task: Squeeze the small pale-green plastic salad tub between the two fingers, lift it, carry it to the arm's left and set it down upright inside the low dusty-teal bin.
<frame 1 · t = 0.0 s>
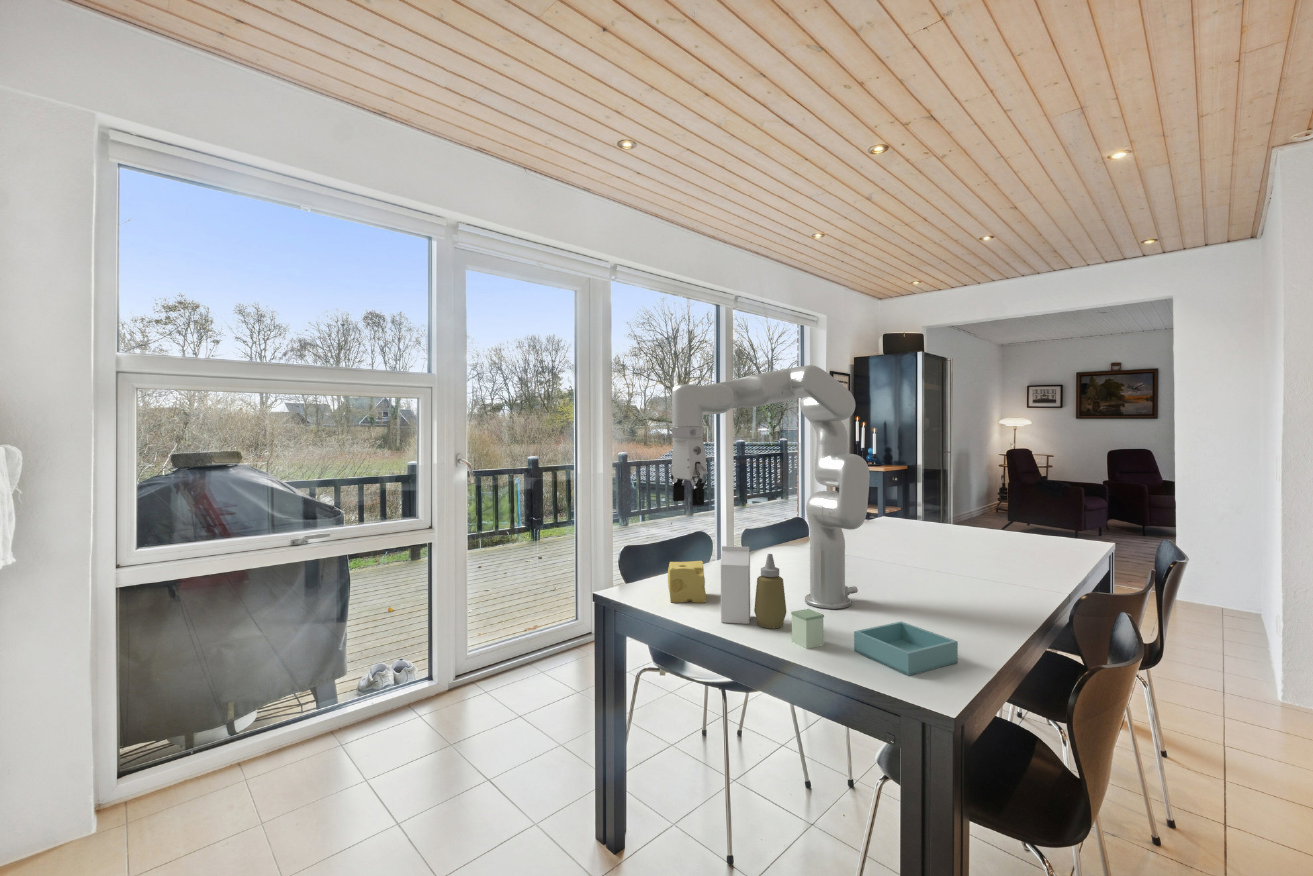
hand: (688, 502, 147), 31 cm above the table, fingers open, 9 cm apart
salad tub: (807, 643, 136), on the table
squeeze bottle: (770, 626, 148), on the table
bin: (904, 657, 127), on the table
cheese: (686, 599, 173), on the table
milk carton: (735, 620, 153), on the table
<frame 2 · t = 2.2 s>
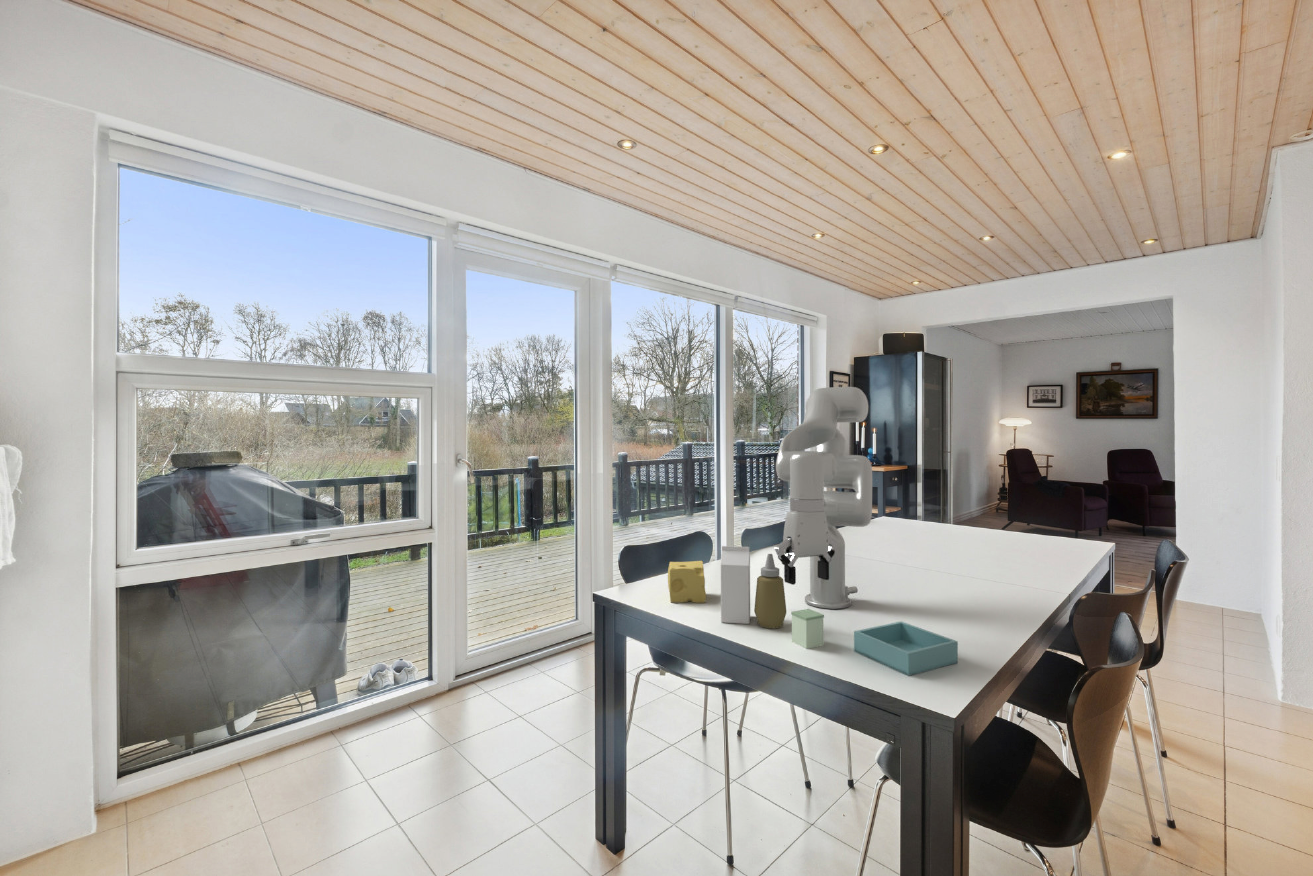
hand: (806, 581, 135), 15 cm above the table, fingers open, 9 cm apart
nothing on the table moved.
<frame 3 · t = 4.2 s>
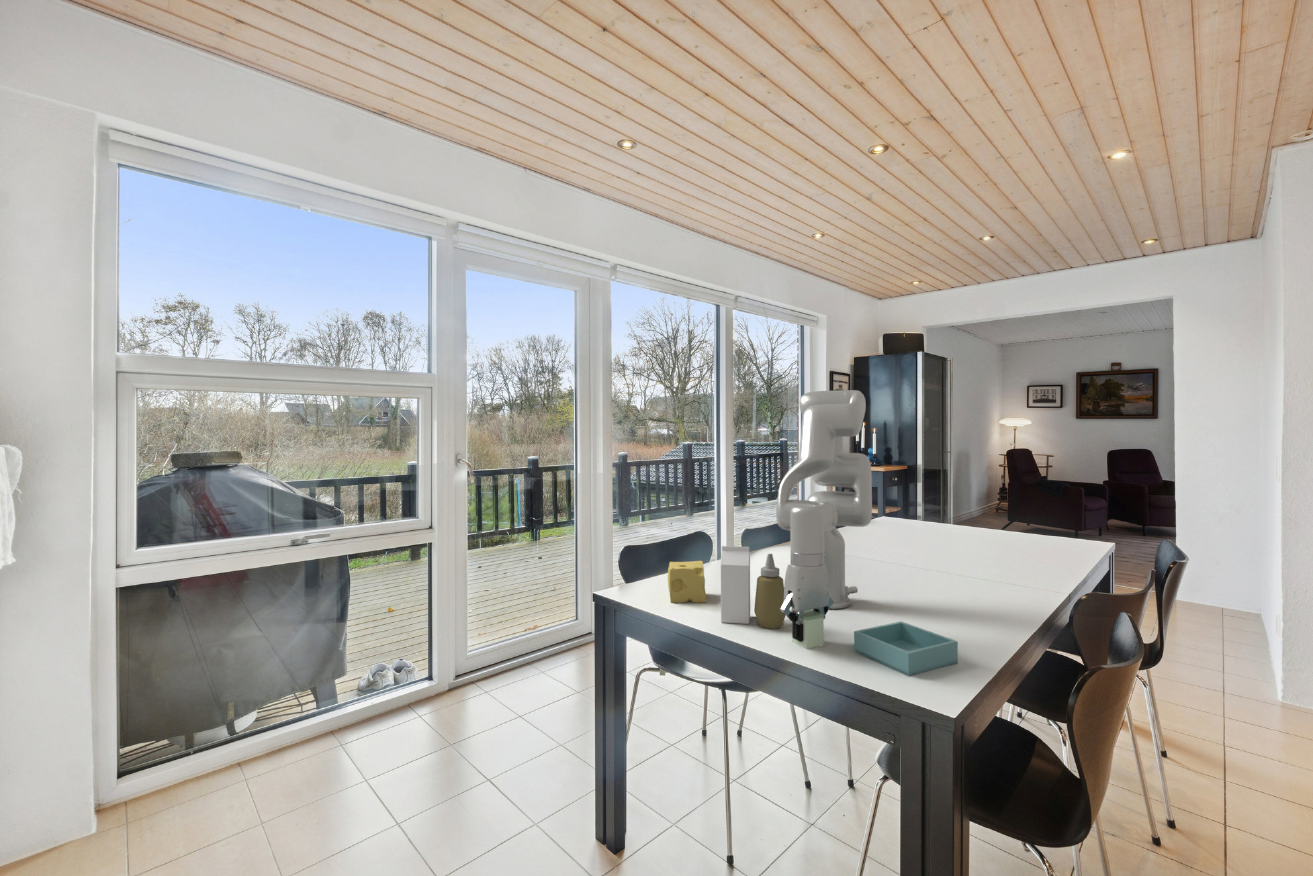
hand: (807, 637, 136), 1 cm above the table, fingers closed on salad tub, 5 cm apart
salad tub: (807, 643, 136), on the table, touching gripper
everything else where it was.
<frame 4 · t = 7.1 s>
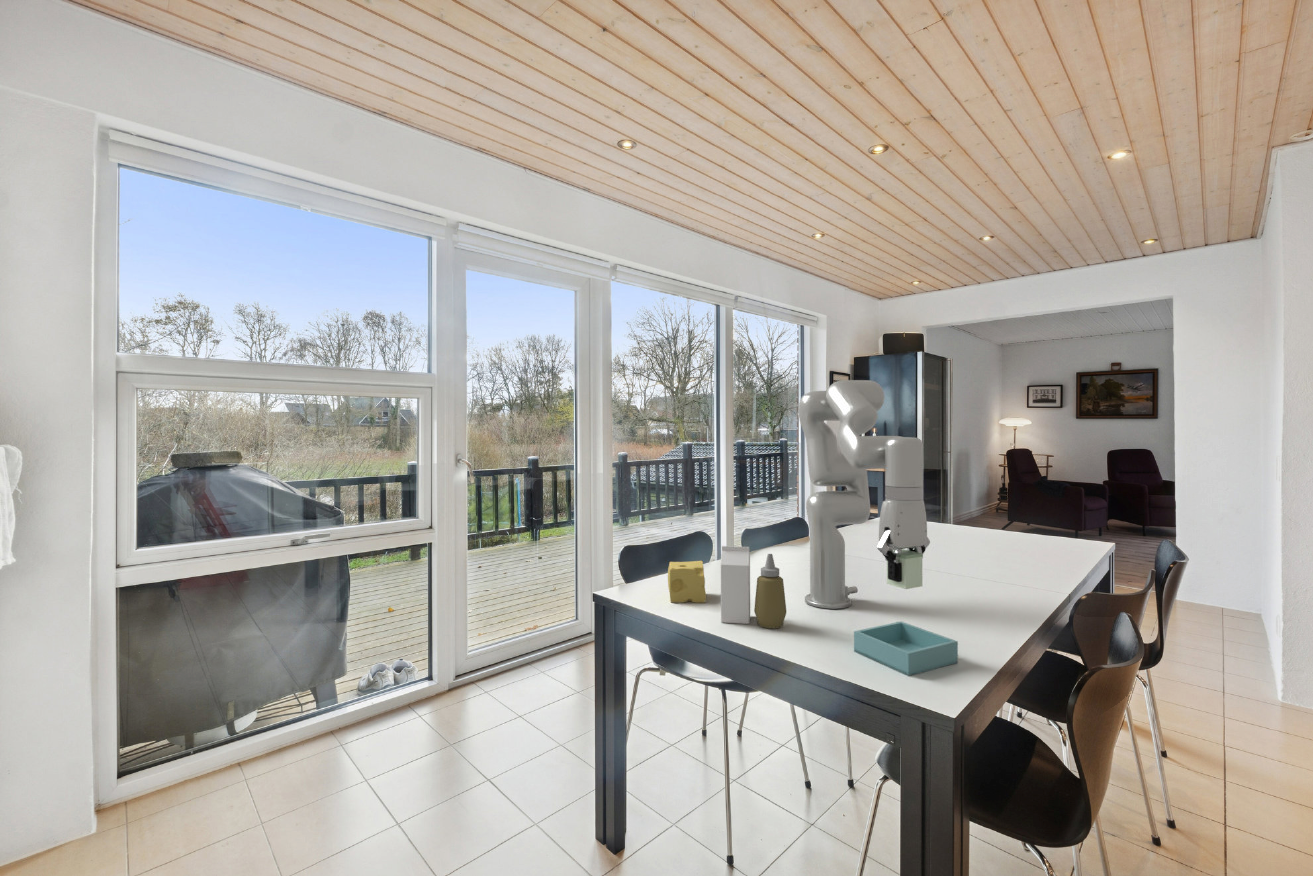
hand: (904, 578, 127), 17 cm above the table, fingers closed on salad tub, 5 cm apart
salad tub: (904, 585, 127), point 16 cm above the table, touching gripper
everything else where it was.
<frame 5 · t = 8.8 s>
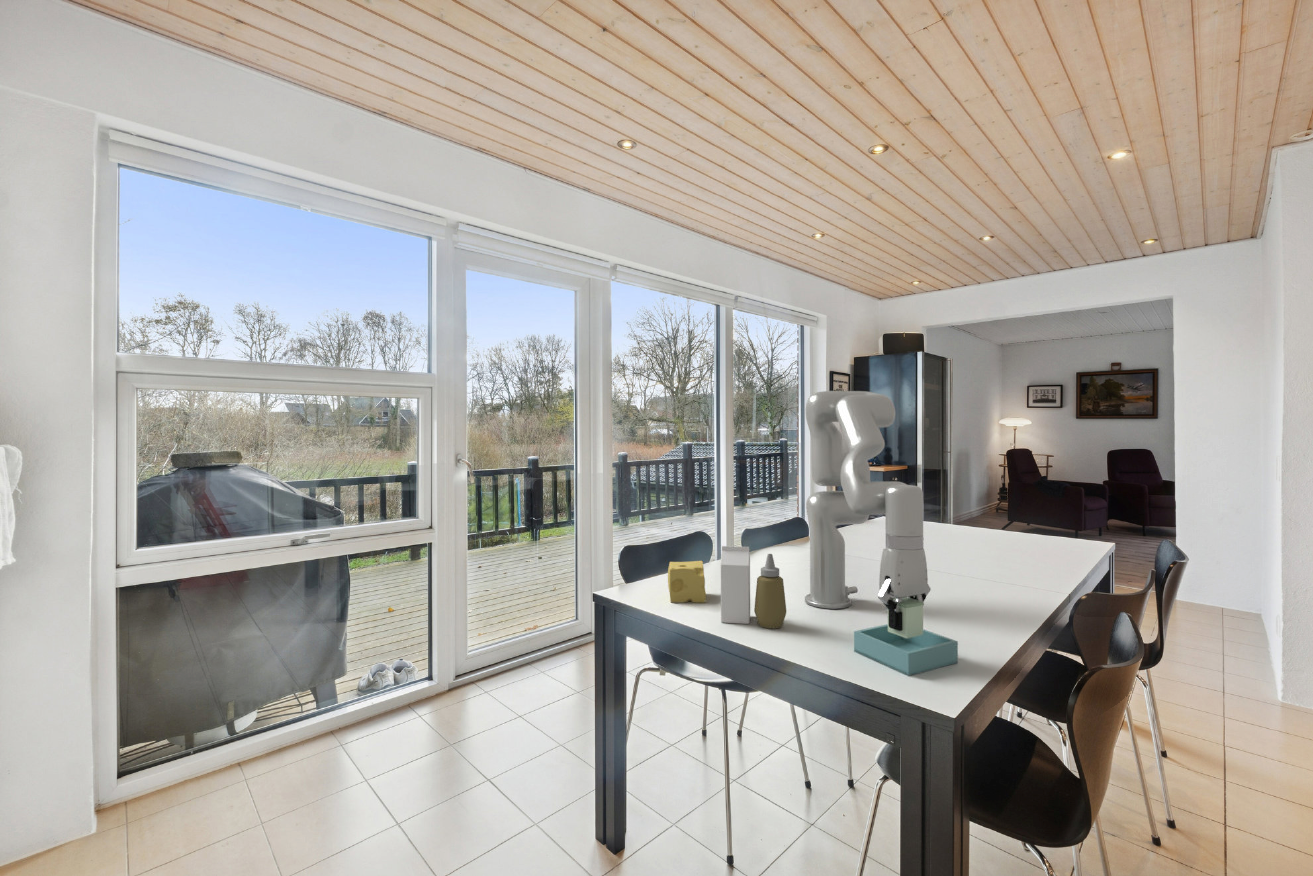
hand: (905, 626, 127), 7 cm above the table, fingers closed on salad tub, 5 cm apart
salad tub: (905, 633, 127), point 5 cm above the table, touching gripper
everything else where it was.
when the fingers open (4 cm above the table, at t = 10.2 s): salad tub drops 2 cm, resting on bin.
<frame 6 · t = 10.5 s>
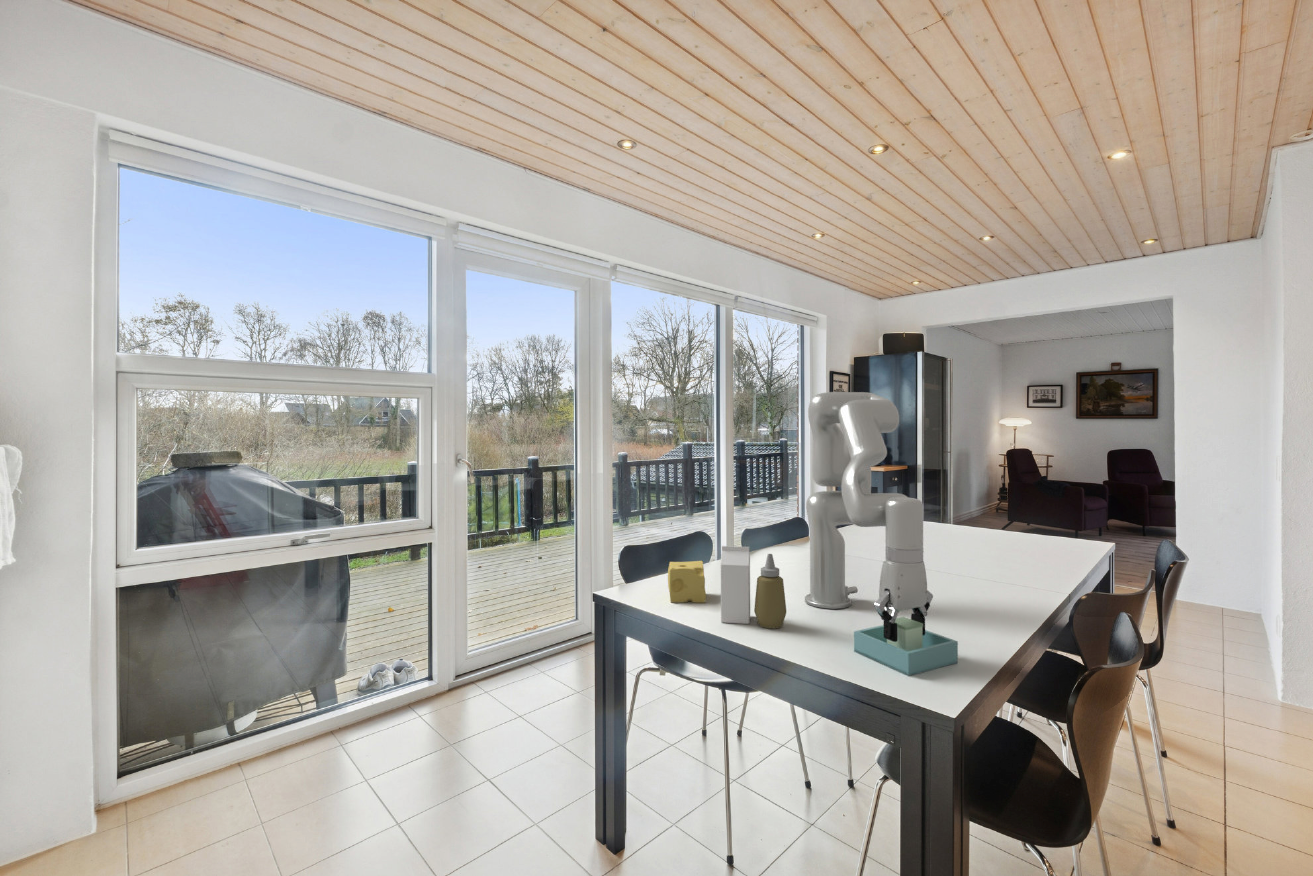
hand: (904, 636, 127), 5 cm above the table, fingers open, 7 cm apart
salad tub: (904, 654, 127), point 1 cm above the table, touching bin
everything else where it was.
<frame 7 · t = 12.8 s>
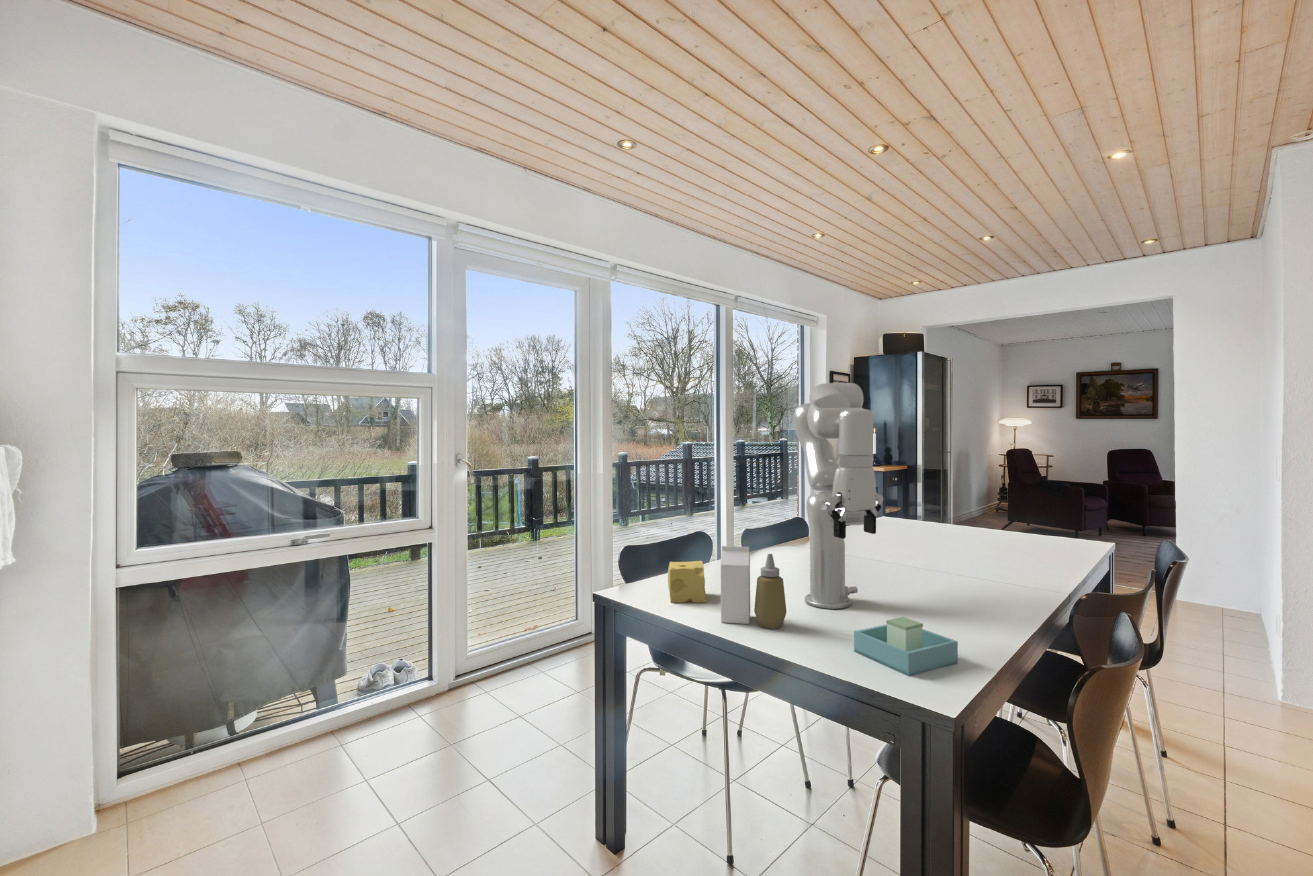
hand: (854, 535, 138), 24 cm above the table, fingers open, 9 cm apart
nothing on the table moved.
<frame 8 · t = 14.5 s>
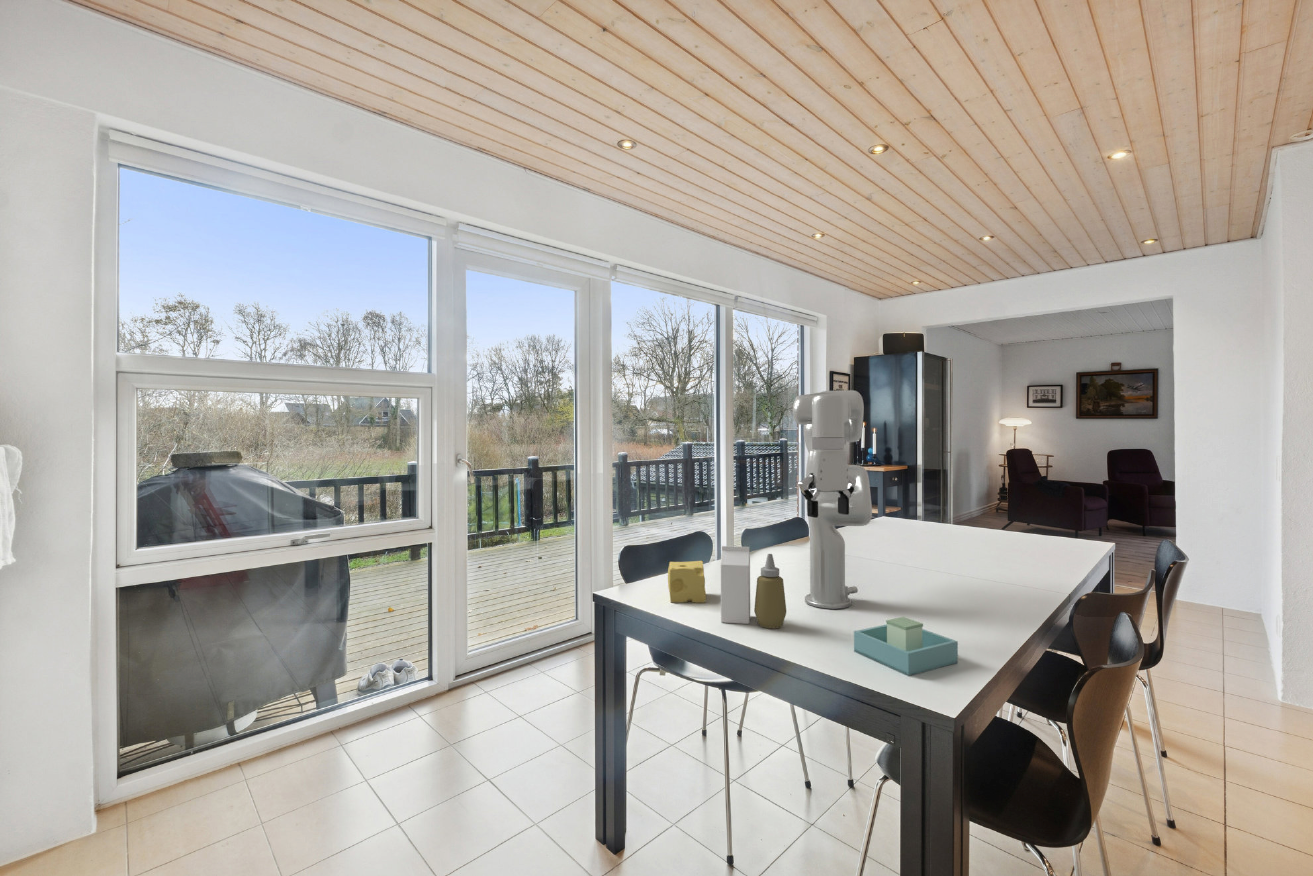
hand: (828, 515, 143), 28 cm above the table, fingers open, 9 cm apart
nothing on the table moved.
at the end: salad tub inside the target area on the bin (0.0 cm from its centre), point 0.6 cm above the bin's base; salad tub tilted 0°; the gripper is holding nothing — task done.
